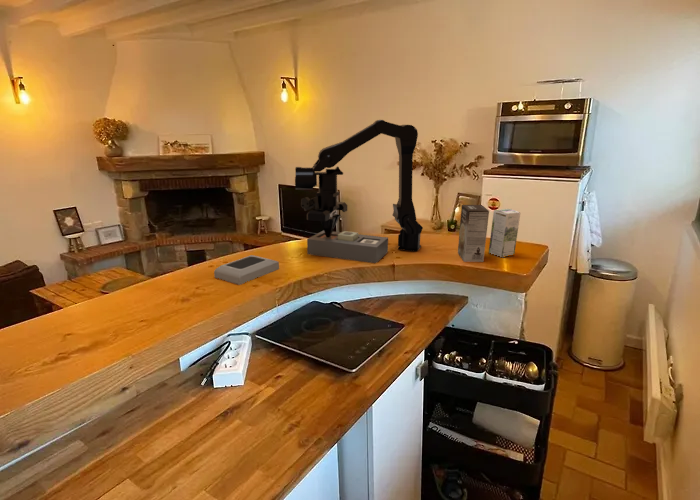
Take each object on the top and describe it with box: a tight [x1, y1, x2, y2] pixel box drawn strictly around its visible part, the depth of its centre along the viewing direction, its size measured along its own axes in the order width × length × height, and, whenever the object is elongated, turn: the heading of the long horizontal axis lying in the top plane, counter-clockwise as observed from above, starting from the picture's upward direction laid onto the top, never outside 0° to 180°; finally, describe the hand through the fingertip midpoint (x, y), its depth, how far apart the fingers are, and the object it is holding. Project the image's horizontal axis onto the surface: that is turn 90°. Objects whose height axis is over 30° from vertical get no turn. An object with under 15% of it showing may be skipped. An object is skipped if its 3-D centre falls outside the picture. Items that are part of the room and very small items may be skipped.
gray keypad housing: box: [306, 229, 389, 264], centre depth 134 cm, size 23×12×5 cm, turn 69°
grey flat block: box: [213, 254, 280, 286], centre depth 116 cm, size 10×4×15 cm
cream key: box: [361, 239, 378, 244], centre depth 131 cm, size 5×5×3 cm
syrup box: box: [488, 208, 521, 258], centre depth 133 cm, size 6×6×14 cm
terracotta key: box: [320, 235, 337, 239], centre depth 136 cm, size 5×5×3 cm
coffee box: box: [457, 204, 490, 263], centre depth 129 cm, size 9×6×16 cm
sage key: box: [338, 230, 359, 242], centre depth 133 cm, size 5×5×3 cm
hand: (328, 237), depth 136 cm, fingers closed, pressing on terracotta key
